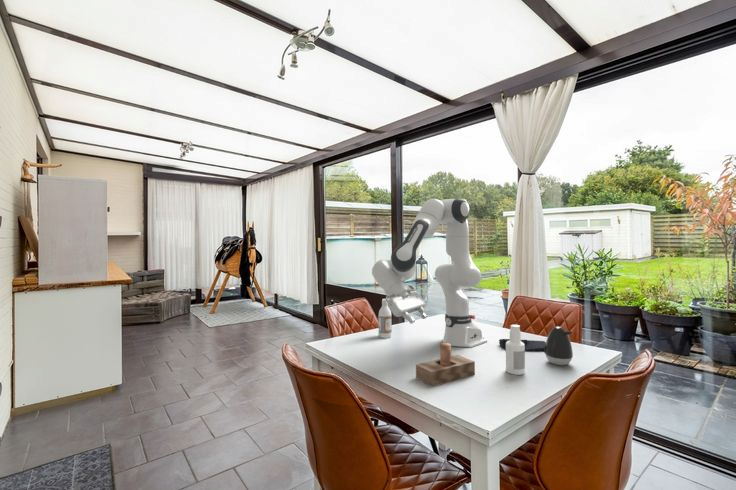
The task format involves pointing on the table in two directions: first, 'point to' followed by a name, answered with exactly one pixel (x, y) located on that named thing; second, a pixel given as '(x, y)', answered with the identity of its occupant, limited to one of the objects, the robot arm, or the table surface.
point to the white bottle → (515, 352)
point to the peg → (445, 354)
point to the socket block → (445, 370)
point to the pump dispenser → (558, 347)
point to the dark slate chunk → (527, 344)
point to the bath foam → (385, 320)
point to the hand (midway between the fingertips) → (419, 320)
